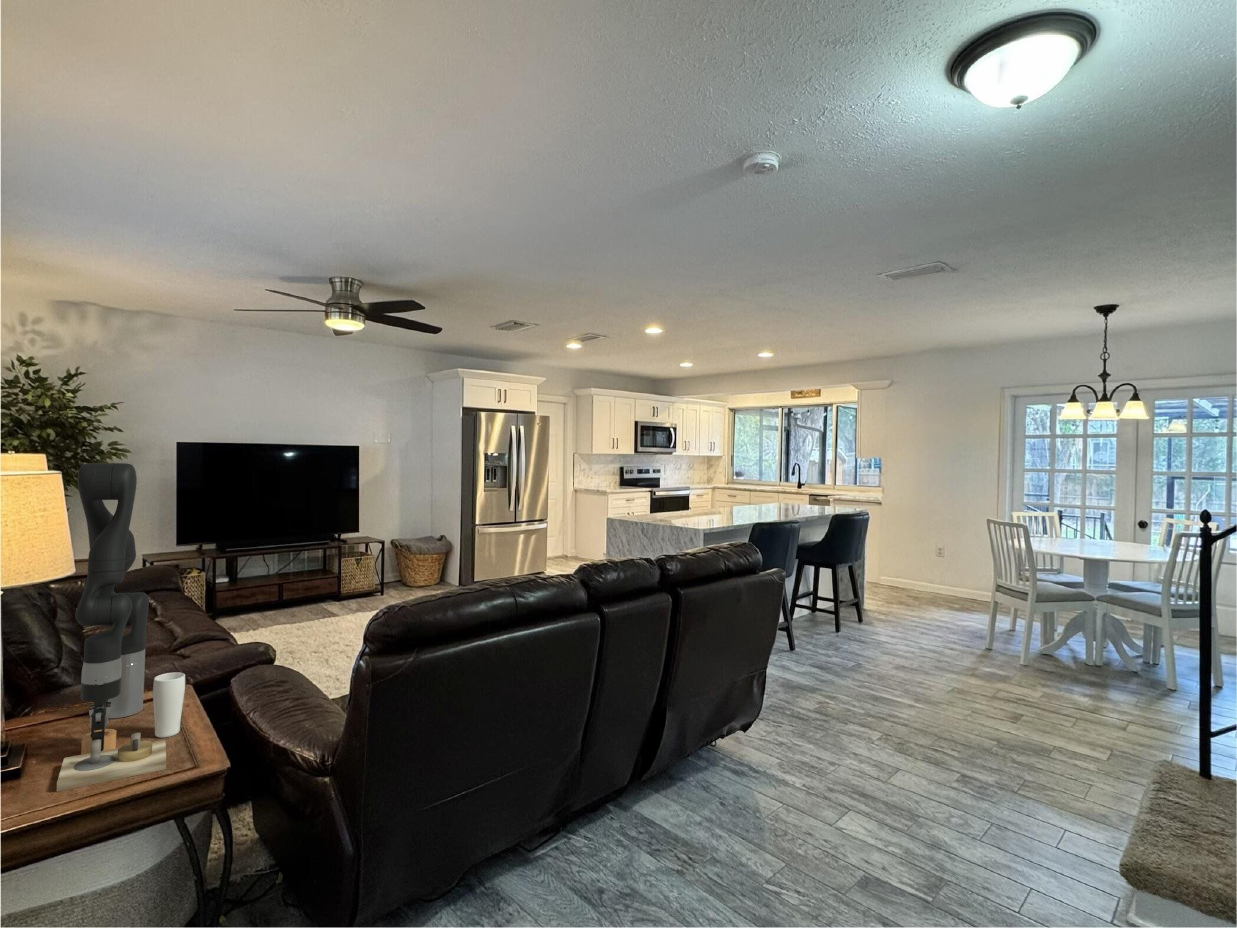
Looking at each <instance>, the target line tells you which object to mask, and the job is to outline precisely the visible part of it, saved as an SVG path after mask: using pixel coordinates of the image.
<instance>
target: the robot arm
mask: <svg viewBox="0 0 1237 928" xmlns="http://www.w3.org/2000/svg"><path fill="white" fill-rule="evenodd" d="M76 477H77V486H78V487H77V488H78V492H79V497H80V501H81V504H82V508H83V509H82V510H83V512H84V516H85V519H86V526H87V532H88V543H89V544H88V545H89V553H88V556H87V557H88V559H87V560H88V561H87V575H86V582H85V587H84V590H83V592H82V596H81V597H80V600H79V602H78V604H77V607H76V610H75V616H74V617H75V620H76V623H78V624H79V625H80V626H82V627H95V626H101V627H104V628H110V629H108V630H106V631H103V632H99V633H96V634H93V635H90V636H89V637H87V638H86V639H85V640H84V647H83V662H82V663H83V665H82V669H81V680H80V681H81V683H80V700H81V701H82V702H85V703H93V704H90V706H89V707H90V708H89V710H88V713H89V714H88V715H89V728H90V730H91V731H90V732H91V735H90V737H91V738H92V741H94V740H101V751H103V750H104V736H105V734H106V732H105V729H107V726H108V725H109V719H119V718H125V717H129V716H132V715H135V714H138V713H140V712H142V710H143V709H144V693H145V691H144V689H145V664H146V640H147V625H148V616H149V605H150V604H149V603H150V600H149V596H148V595H147V593H146V592H144V591H143V592H141V591H140V592H139V591H138V592H136V591H135V592H118V593H117V592H115V591H114V589H115V587H116V586H117V585H120V584H122V582H123V581H124V579H125V574H126V573H127V572H129V570H130V569H131V567H132V566H133V565H134V562H135V560H136V557H137V551H136V549H137V548H136V542H135V541H136V540H135V536H134V534H133V532H132V531H131V529H130V526H131V521H132V515H133V508H134V504H135V498H136V491H137V480H138V479H137V471H136V469H135V466H133V464H131V463H123V462H122V463H121V462H120V463H119V462H88V463H84V464H82V465H81V466H80V467H79V469H78V471H77V476H76ZM104 501H117V505H116V509H115V512H114V514H112V513H111V512H110V511H109V510H108V508H107V507H106V505H105V503H104ZM126 627H131V628H130V630H129V631H128V632H126V633H124V631H125V628H126ZM96 730H102V731H99V732H95V731H96Z"/></svg>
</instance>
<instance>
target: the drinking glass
mask: <svg viewBox="0 0 1237 928" xmlns="http://www.w3.org/2000/svg"><path fill="white" fill-rule="evenodd" d="M185 692H186V674H185V673H183V672H179V671H178V672H175V671H174V672H167V673H166V672H165V673H162V674H159V675H157V676H155V677H154V678H153V687H152V701H153V703H152V704H153V714H154V715H153V716H154V736H155V737H157V738H163V739H164V738H169V737H173V736H176V735H178V734H179V732H180V730H181V720H182V713H183V706H184V699H185Z"/></svg>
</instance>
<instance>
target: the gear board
mask: <svg viewBox="0 0 1237 928" xmlns="http://www.w3.org/2000/svg"><path fill="white" fill-rule="evenodd" d="M141 734H142V733H141V732H134V733H132V734H130V742H129V743H126V744H124V745H122V746H120V747H116V748H115V749H110V750H104V751H101V740H94V741H91V752H90V753H88V754H83V755H81V754H77V755H72V756H68V757H67V756H66V757H64V758H63V760H62V764H61V768H60V772H59V774H58V779H57V781H56V792H63V791H68V790H72V789H76V788H82V787H86V786H87V787H88V786H92V785H95V784H96V785H97V784H102V783H106V782H111V781H115V780H121V779H125V778H129V777H135V776H140V775H144V774H149V773H154V772H159V771H165V770H167V740H166V739H164V738H163V739H160V740H155V741H149V740H141V737H142V736H141Z"/></svg>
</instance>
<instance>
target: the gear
mask: <svg viewBox="0 0 1237 928" xmlns="http://www.w3.org/2000/svg"><path fill="white" fill-rule="evenodd" d="M99 731H102V730H96V731H95V732H99ZM105 732H106V734H105V736H104V750H110V749H115V748H117V747H116V745H117V729H113V728H106V729H105ZM90 735H91V731H90V732H87V733H85V734H84V735H82V737H81V752H80V755H83V754H88V753H90V752H91V741H92V738H91V737H90ZM104 750H103V751H104Z"/></svg>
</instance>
